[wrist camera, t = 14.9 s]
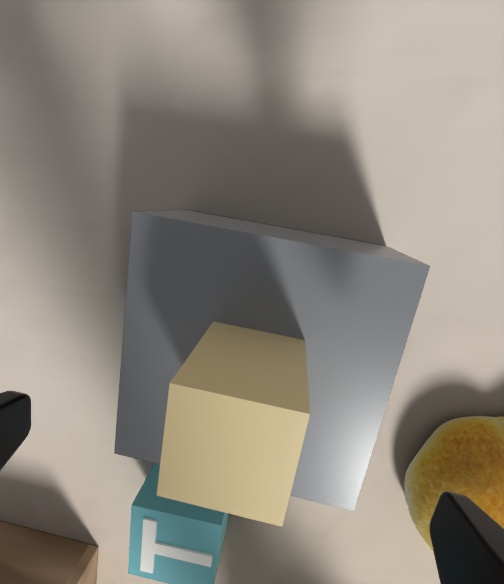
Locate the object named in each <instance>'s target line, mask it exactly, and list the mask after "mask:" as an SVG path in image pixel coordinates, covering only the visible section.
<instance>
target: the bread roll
mask: <svg viewBox="0 0 504 584" xmlns="http://www.w3.org/2000/svg"><path fill="white" fill-rule="evenodd" d="M404 490H405V498H406V502H407V504H408V507H409V512H410V515H411V517H412V520H413V522H414V524H415V526H416V528H417V530H418V531H419V533H420V535H421V536H422V538H423V539H424V540H425V541H426V543H427V544H428V545H429V546H430V548H431V549H432V550H433V547H432V542H431V537H430V530H429V527H430V521H431V518H432V515H433V513H434V510H435V508H436V505H437V503H438V500H439V498H440V495H441V494H442V493H443V492H445V491H449V492H453V493H458V494H462V495H465V496H467V497H468V498H469V499H471V500H472V501H473V502H474V503H475V504H476V505H477V506H479V507H480V508H481V509H482V510H483V511H484V512H485V513H486V514H488V515H489V516H490V517H491V518H492V519H493V520H494V521H496V522H497V523H498V524H499V525H500V526H501V527H502V528H504V417H502V416H501V417H489V416H471V417H461V418H455V419H452V420H449V421H447V422H445V423H443V424H442V425H440V426H439V427H438V428H437V429H436V430H435V431H434V432H433V433H432V435H431V436H430V437H429V438H428V440H427V441H426V442H425V443H424V445H423V446H422V447H421V449H420V450H419V452H418V453H417V454H416V456H415V457H414V458H413V460H412V461H411V463H410V465H409V466H408V468H407V471H406V474H405V482H404Z"/></svg>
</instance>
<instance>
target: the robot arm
mask: <svg viewBox="0 0 504 584" xmlns="http://www.w3.org/2000/svg"><path fill="white" fill-rule="evenodd" d="M30 428H31V399H30V397H29V395H27V394H24V393H20V392H16V391H6V392H3V393H0V470H1V469H2V468H3V467H4V465H5V464H6V463H7V461H8V460H9V459H10V458H11V456H12V455H13V454H14V453H15V451H16V450H17V449H18V447H19V446H20V445H21V444H22V442H23V441H24V440H25V438H26V437H27V435H28V433H29V431H30ZM429 530H430V537H431V542H432V547H433V551H434V556H435V560H436V565H437V569H438V574H439V578H440V583H441V584H504V528H502V527H501V526H500V525H499V524H498V523H497V522H496V521H494V520H493V519H492V518H491V517H490V516H489V515H488V514H486V513H485V512H484V511H483V510H482V509H481V508H480V507H479V506H477V505H476V504H475V503H474V502H473V501H472V500H471V499H469V498H468V497H467V496H465V495H462V494H458V493H453V492H449V491H445V492H443V493H442V494H441V495H440V498H439V500H438V503H437V505H436V508H435V510H434V513H433V515H432V518H431V521H430V527H429Z"/></svg>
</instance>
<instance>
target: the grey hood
mask: <svg viewBox="0 0 504 584" xmlns="http://www.w3.org/2000/svg"><path fill="white" fill-rule="evenodd" d="M429 268H430V266H429V265H427V264H424V263H422V262H420V261H418V260H416V259H414V258H411V257H409V256H407V255H405V254H403V253H400V252H398V251H396V250H394V249H392V248H390V247H387V246H384V245H378V244H373V243H367V242H362V241H356V240H350V239H345V238H339V237H334V236H328V235H323V234H317V233H312V232H306V231H301V230H295V229H290V228H284V227H278V226H273V225H267V224H262V223H256V222H251V221H245V220H240V219H234V218H229V217H223V216H218V215H212V214H207V213H201V212H195V211H190V210H184V209H180V210H156V211H132V221H131V235H130V248H129V262H128V275H127V289H126V303H125V316H124V330H123V343H122V357H121V371H120V384H119V398H118V411H117V425H116V438H115V452H114V453H115V454H119V455H123V456H128V457H132V458H136V459H140V460H144V461H148V462H152V463H157V464H160V470H159V479H158V487H157V496H160V497H164V498H168V499H173V500H177V501H181V502H185V503H189V504H193V505H197V506H201V507H205V508H209V509H213V510H217V511H221V512H225V513H229V514H233V515H237V516H241V517H245V518H249V519H253V520H257V521H261V522H265V523H269V524H273V525H277V526H281V527H282V526H283V522H284V518H285V514H286V510H287V506H288V502H289V498H290V496H293V497H298V498H302V499H306V500H310V501H314V502H318V503H323V504H327V505H331V506H335V507H339V508H343V509H347V510H352V511H354V508H355V505H356V502H357V499H358V495H359V492H360V489H361V486H362V483H363V479H364V476H365V473H366V470H367V467H368V463H369V460H370V457H371V454H372V451H373V447H374V444H375V441H376V438H377V435H378V431H379V428H380V425H381V422H382V418H383V415H384V412H385V409H386V406H387V402H388V399H389V396H390V393H391V390H392V386H393V383H394V380H395V377H396V374H397V370H398V367H399V364H400V361H401V358H402V354H403V351H404V348H405V345H406V342H407V338H408V335H409V332H410V329H411V326H412V322H413V319H414V316H415V313H416V310H417V306H418V303H419V300H420V297H421V293H422V290H423V287H424V284H425V281H426V277H427V274H428V271H429Z"/></svg>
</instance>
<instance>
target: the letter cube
mask: <svg viewBox="0 0 504 584" xmlns="http://www.w3.org/2000/svg"><path fill="white" fill-rule="evenodd" d="M159 470H160V464H157V463H155V464H154V465H153V467H152V469H151V471H150V473H149V475H148V476H147V478H146V480H145V482H144V484H143V485H142V487H141V489H140V491H139V493H138V495H137V496H136V498H135V500H134V502H133V504H132V508H131V528H130V547H129V567H128V574H132V575H136V576H140V577H144V578H148V579H153V580H157V581H161V582H165V583H169V584H214V582H215V578H216V573H217V569H218V564H219V559H220V555H221V550H222V546H223V541H224V537H225V532H226V528H227V523H228V518H229V513H225V512H221V511H217V510H213V509H209V508H205V507H201V506H197V505H193V504H189V503H185V502H181V501H177V500H173V499H168V498H164V497H160V496H157V487H158V479H159Z"/></svg>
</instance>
